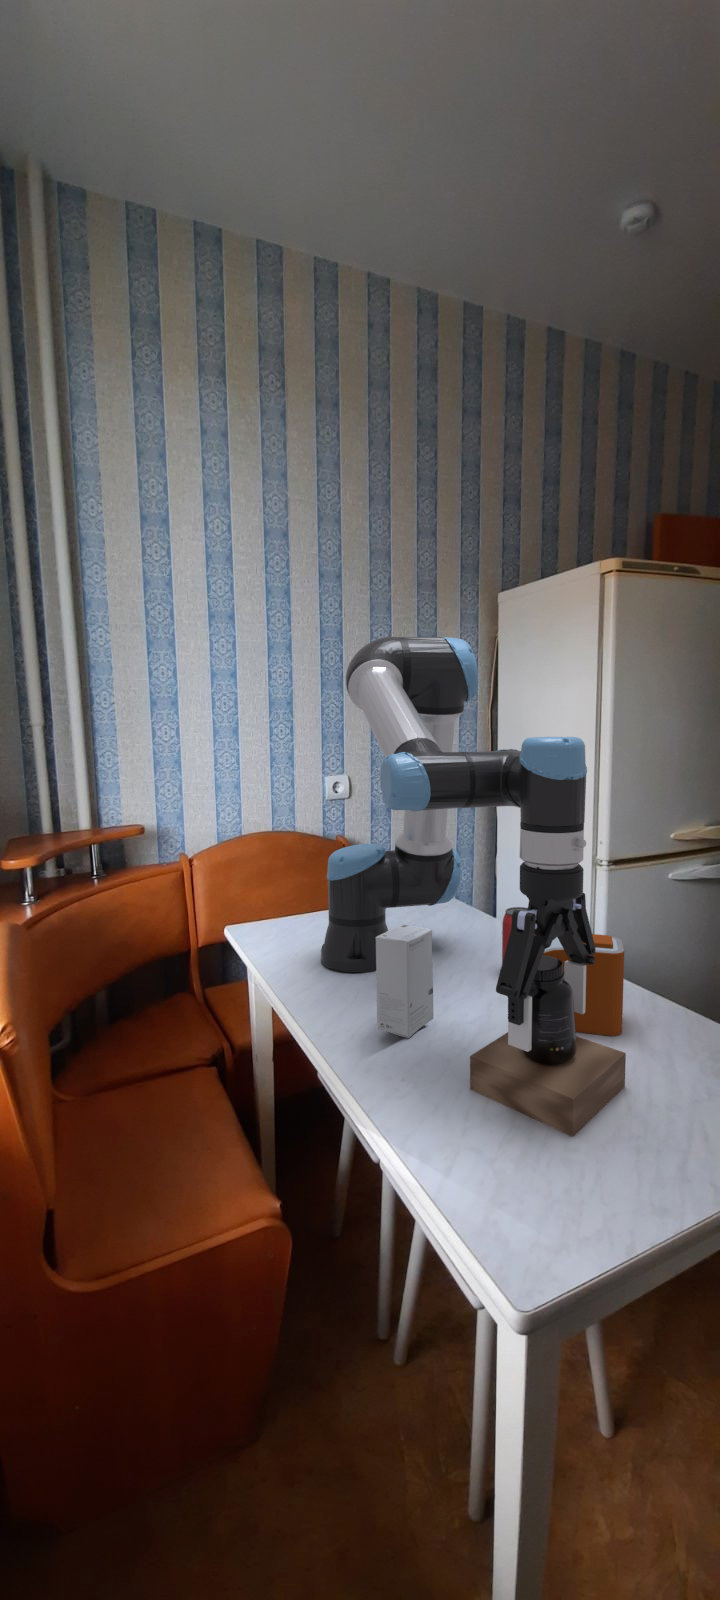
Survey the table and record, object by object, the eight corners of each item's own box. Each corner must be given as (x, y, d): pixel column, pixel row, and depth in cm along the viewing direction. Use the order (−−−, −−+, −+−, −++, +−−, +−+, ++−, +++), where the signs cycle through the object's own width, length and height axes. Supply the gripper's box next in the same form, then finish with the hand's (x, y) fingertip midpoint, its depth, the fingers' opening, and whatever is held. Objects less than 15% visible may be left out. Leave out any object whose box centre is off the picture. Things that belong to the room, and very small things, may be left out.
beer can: (535, 967, 123) (535, 906, 122) (541, 980, 117) (542, 916, 115) (500, 966, 124) (500, 905, 123) (504, 980, 117) (504, 916, 116)
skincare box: (409, 1039, 96) (408, 942, 94) (374, 1029, 99) (373, 936, 97) (435, 1018, 103) (434, 927, 101) (402, 1009, 106) (401, 921, 104)
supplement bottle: (514, 1042, 85) (507, 955, 84) (564, 1035, 86) (559, 949, 84) (531, 1070, 78) (524, 976, 77) (586, 1062, 79) (580, 969, 77)
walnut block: (470, 1093, 83) (470, 1056, 82) (527, 1052, 92) (527, 1019, 92) (572, 1140, 73) (573, 1098, 72) (624, 1090, 83) (625, 1053, 82)
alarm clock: (618, 1013, 103) (621, 931, 102) (623, 1038, 95) (625, 949, 94) (523, 1003, 108) (524, 924, 106) (519, 1025, 100) (520, 940, 98)
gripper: (524, 886, 68) (521, 1077, 70) (624, 851, 85) (620, 1005, 88) (465, 875, 73) (465, 1053, 76) (571, 844, 91) (568, 990, 93)
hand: (548, 1028), depth 82 cm, fingers open, 13 cm apart
